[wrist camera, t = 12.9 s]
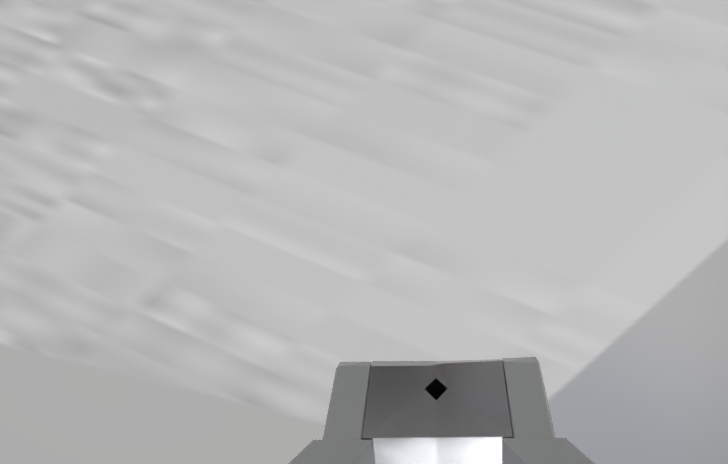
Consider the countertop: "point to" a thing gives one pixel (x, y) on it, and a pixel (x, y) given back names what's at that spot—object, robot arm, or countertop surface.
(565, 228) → the countertop surface
